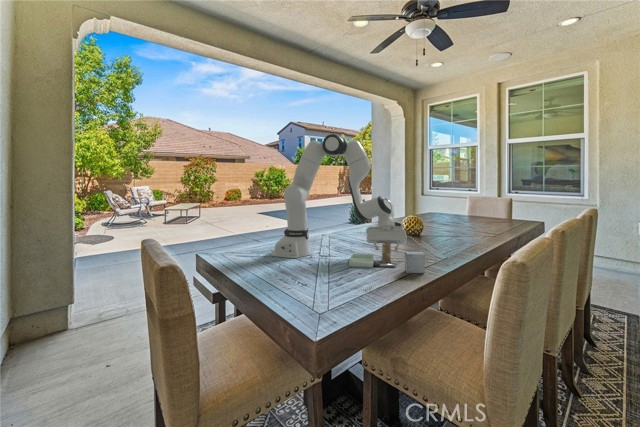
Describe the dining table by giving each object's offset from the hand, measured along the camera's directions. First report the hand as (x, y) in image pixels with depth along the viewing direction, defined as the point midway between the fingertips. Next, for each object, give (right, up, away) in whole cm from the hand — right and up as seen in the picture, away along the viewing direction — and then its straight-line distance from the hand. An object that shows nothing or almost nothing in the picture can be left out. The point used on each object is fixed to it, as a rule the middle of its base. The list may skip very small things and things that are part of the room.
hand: (386, 249), depth 153 cm
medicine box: (+9, -8, -17) cm, 21 cm away
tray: (-13, -6, -2) cm, 14 cm away
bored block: (0, -6, 0) cm, 6 cm away
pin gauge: (-3, -7, -9) cm, 11 cm away
